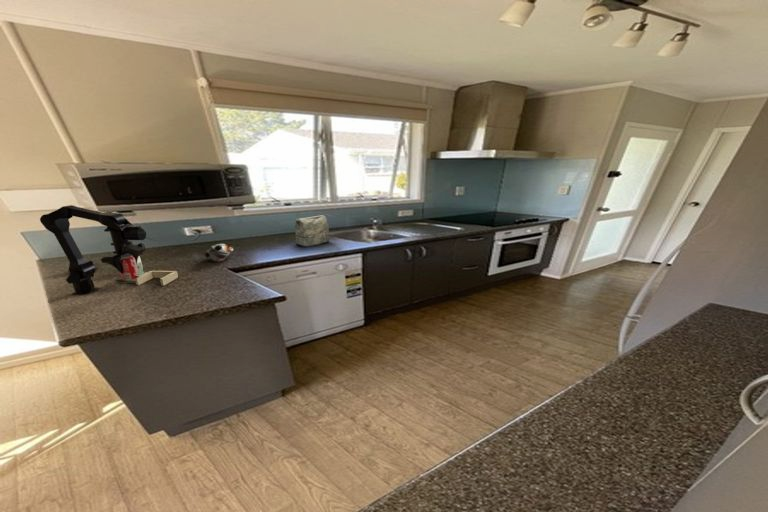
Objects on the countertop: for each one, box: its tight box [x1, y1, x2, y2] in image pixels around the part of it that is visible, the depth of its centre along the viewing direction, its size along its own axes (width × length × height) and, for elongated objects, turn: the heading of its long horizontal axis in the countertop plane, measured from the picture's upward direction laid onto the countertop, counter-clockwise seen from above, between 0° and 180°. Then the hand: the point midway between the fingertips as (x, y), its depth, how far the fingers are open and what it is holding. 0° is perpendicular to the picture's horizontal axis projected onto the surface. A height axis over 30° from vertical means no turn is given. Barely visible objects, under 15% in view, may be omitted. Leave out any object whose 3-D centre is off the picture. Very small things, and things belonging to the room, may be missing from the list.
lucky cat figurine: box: [204, 243, 235, 263], centre depth 189 cm, size 15×12×14 cm
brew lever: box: [115, 278, 127, 283], centre depth 153 cm, size 12×5×2 cm, turn 0°
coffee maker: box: [118, 262, 148, 284], centre depth 157 cm, size 12×10×9 cm
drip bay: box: [135, 270, 179, 287], centre depth 155 cm, size 11×14×4 cm
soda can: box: [118, 255, 139, 281], centre depth 141 cm, size 7×7×12 cm
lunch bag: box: [294, 214, 330, 248], centre depth 230 cm, size 26×18×22 cm
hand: (128, 270), depth 142 cm, fingers closed on soda can, 7 cm apart
